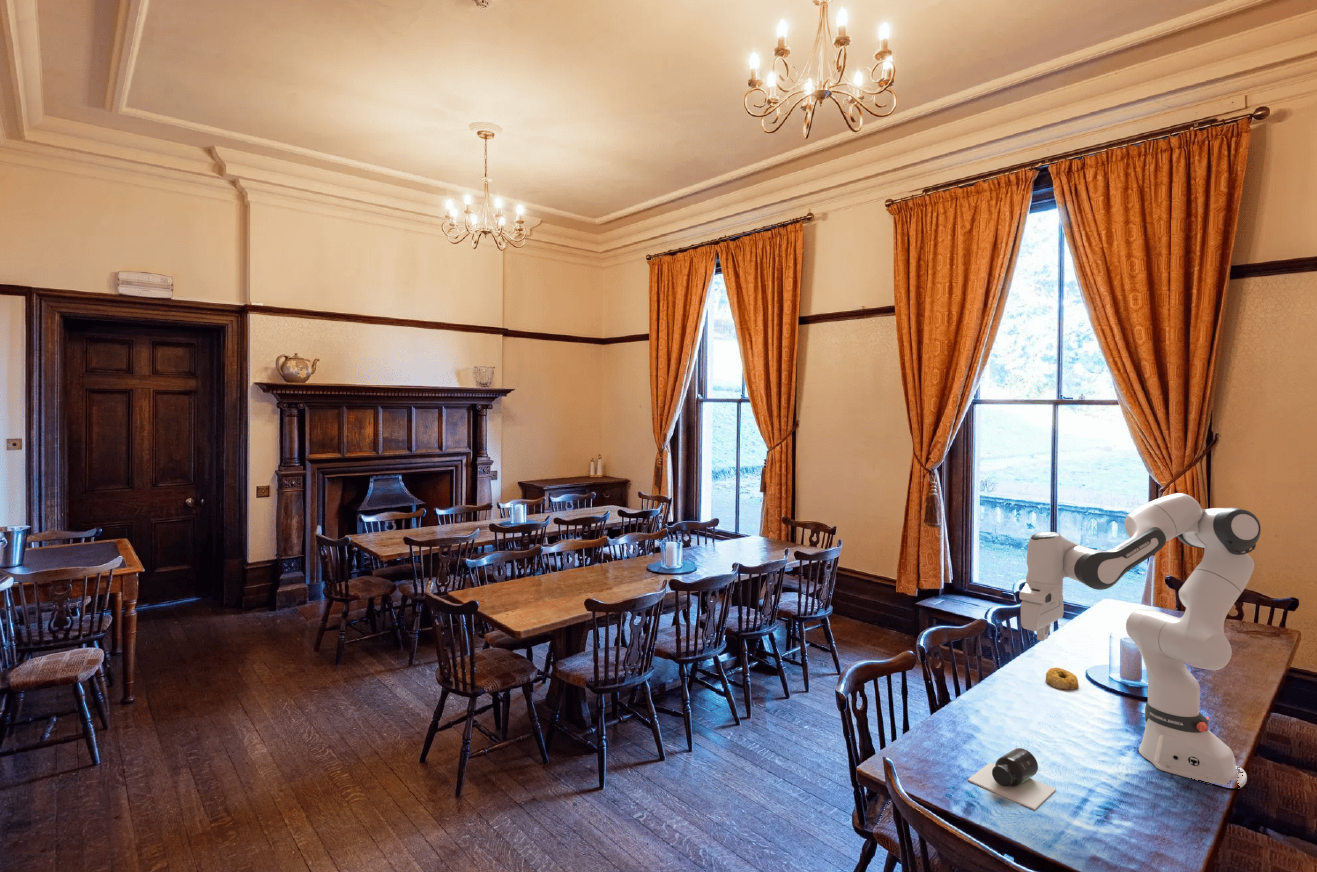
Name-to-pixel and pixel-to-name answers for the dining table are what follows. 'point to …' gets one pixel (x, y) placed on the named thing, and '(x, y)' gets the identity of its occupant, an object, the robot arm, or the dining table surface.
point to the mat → (1014, 788)
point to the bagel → (1061, 679)
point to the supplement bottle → (1015, 768)
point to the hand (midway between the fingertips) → (1042, 639)
